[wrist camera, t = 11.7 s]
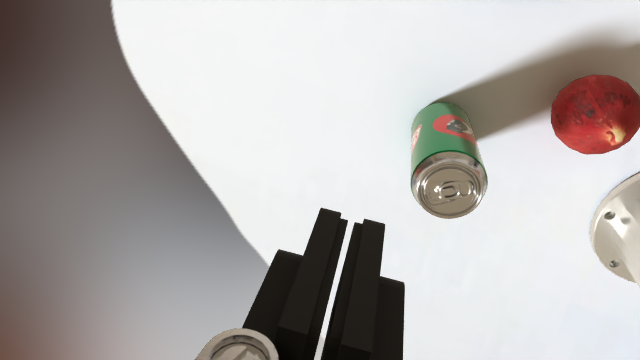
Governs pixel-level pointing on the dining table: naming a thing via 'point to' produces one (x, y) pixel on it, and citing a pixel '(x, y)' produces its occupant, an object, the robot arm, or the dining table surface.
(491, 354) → the dining table surface
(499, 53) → the dining table surface
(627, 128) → the onion
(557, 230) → the dining table surface
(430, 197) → the soda can
